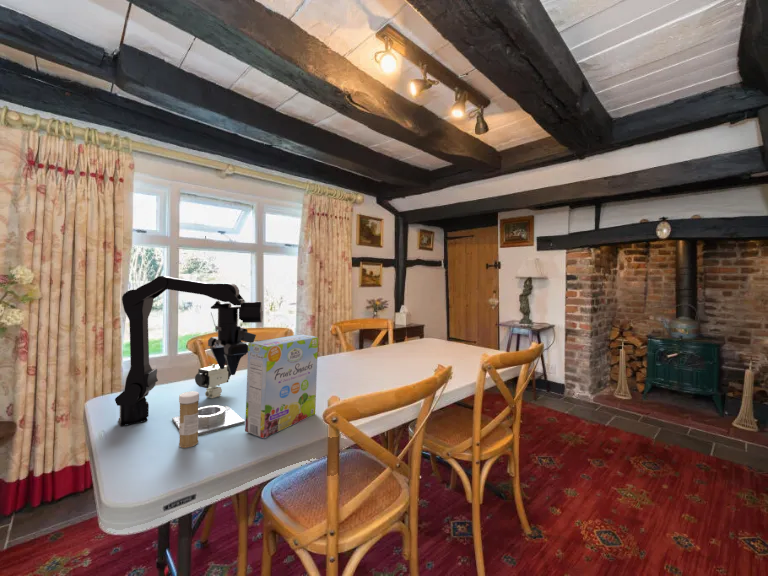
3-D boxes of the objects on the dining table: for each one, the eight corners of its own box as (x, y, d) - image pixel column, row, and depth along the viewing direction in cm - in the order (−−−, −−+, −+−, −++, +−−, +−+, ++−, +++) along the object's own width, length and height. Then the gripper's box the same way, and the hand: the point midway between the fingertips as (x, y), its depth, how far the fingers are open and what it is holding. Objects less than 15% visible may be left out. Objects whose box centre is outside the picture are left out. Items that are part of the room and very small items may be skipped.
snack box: (265, 440, 94) (266, 346, 93) (243, 433, 98) (244, 342, 98) (318, 414, 113) (319, 335, 112) (297, 409, 117) (299, 333, 116)
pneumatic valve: (194, 400, 123) (194, 366, 123) (223, 391, 133) (223, 360, 133) (204, 403, 121) (204, 368, 120) (233, 393, 131) (233, 362, 131)
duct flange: (185, 438, 94) (185, 426, 94) (172, 420, 106) (172, 409, 106) (244, 423, 105) (245, 412, 105) (227, 408, 117) (227, 398, 117)
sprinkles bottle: (179, 442, 92) (179, 392, 92) (198, 439, 94) (199, 389, 94) (178, 450, 88) (178, 397, 88) (198, 446, 90) (199, 394, 90)
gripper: (265, 324, 109) (265, 373, 109) (241, 318, 122) (241, 362, 123) (229, 327, 101) (228, 380, 102) (207, 320, 115) (207, 367, 115)
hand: (227, 371), depth 110 cm, fingers open, 9 cm apart
